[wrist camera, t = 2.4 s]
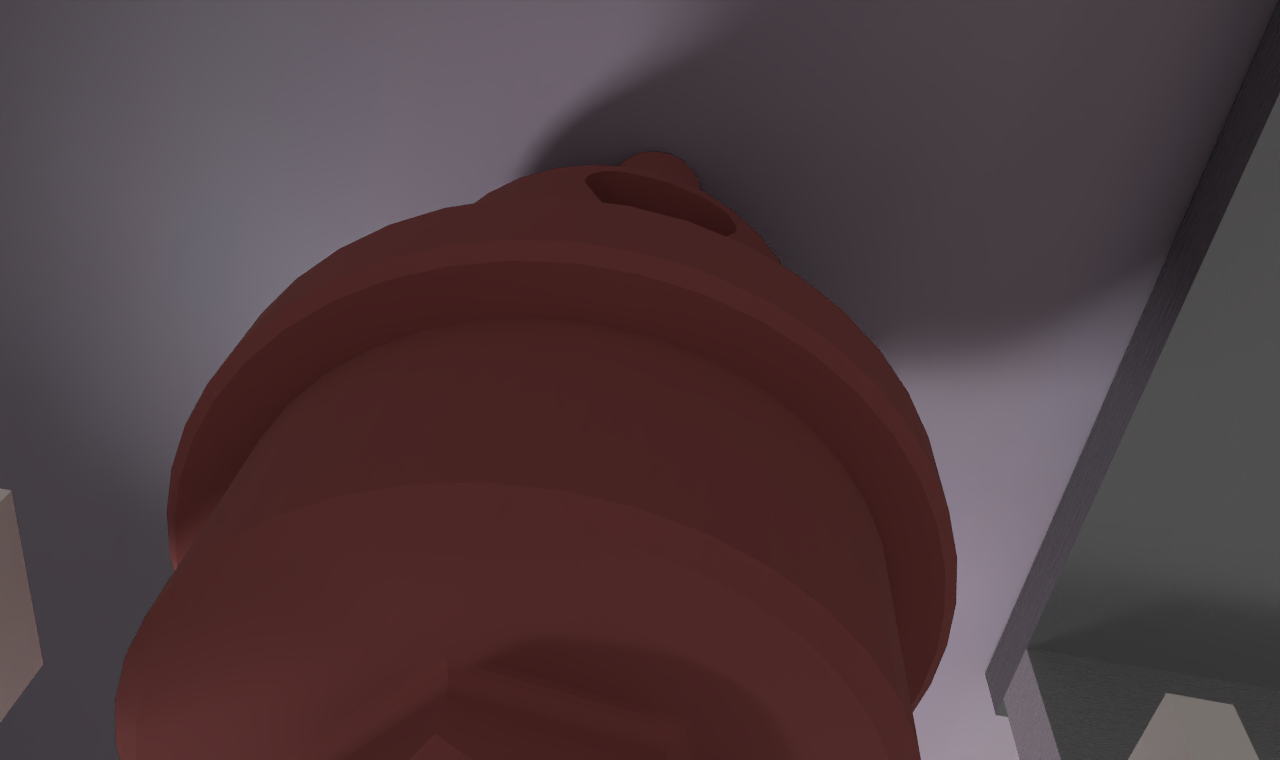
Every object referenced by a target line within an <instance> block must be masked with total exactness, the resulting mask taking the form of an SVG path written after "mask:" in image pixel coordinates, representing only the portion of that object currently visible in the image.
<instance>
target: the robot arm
mask: <svg viewBox="0 0 1280 760" xmlns="http://www.w3.org/2000/svg"><path fill="white" fill-rule="evenodd" d="M42 666H43V659H42V654H41V649H40V643H39V638H38V632H37V627H36V621H35V616H34V610H33V605H32V600H31V594H30V589H29V583H28V578H27V572H26V567H25V561H24V556H23V550H22V545H21V540H20V534H19V529H18V523H17V518H16V512H15V507H14V501H13V496H12V490H6V489H1V488H0V723H1V721H2V720H3V718H4V717H5V716H6V714H7V713H8V712H9V710H10V709H11V708H12V706H13V705H14V704H15V702H16V701H17V699H18V698H19V697H20V695H21V694H22V693H23V691H24V690H25V689H26V687H27V686H28V685H29V683H30V682H31V680H32V679H33V678H34V676H35V675H36V674H37V672H38V671H39V670H40V668H41V667H42ZM1128 760H1259V758H1258V756H1257V754H1256V752H1255V750H1254V748H1253V746H1252V743H1251V741H1250V739H1249V737H1248V735H1247V733H1246V731H1245V729H1244V726H1243V724H1242V722H1241V720H1240V718H1239V716H1238V714H1237V712H1236V709H1235V707H1234V705H1232V704H1226V703H1220V702H1215V701H1209V700H1203V699H1197V698H1192V697H1186V696H1180V695H1175V694H1169V693H1166V694H1165V696H1164V698H1163V699H1162V701H1161V703H1160V705H1159V706H1158V708H1157V710H1156V712H1155V713H1154V715H1153V717H1152V719H1151V720H1150V722H1149V724H1148V726H1147V727H1146V729H1145V731H1144V733H1143V734H1142V736H1141V738H1140V740H1139V741H1138V743H1137V745H1136V747H1135V748H1134V750H1133V752H1132V754H1131V755H1130V757H1129V759H1128Z"/></svg>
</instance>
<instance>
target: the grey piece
mask: <svg viewBox="0 0 1280 760" xmlns="http://www.w3.org/2000/svg"><path fill="white" fill-rule="evenodd" d="M985 675H986V679H987V683H988V687H989V690H990V694H991V698H992V702H993V706H994V710H995V713H996V715H1000V716H1006V717H1008V718H1009V722H1010V725H1011V729H1012V733H1013V736H1014V740H1015V744H1016V747H1017V751H1018V755H1019V759H1020V760H1128V759H1129V757H1130V755H1131V754H1132V752H1133V750H1134V748H1135V747H1136V745H1137V743H1138V741H1139V740H1140V738H1141V736H1142V734H1143V733H1144V731H1145V729H1146V727H1147V726H1148V724H1149V722H1150V720H1151V719H1152V717H1153V715H1154V713H1155V712H1156V710H1157V708H1158V706H1159V705H1160V703H1161V701H1162V699H1163V698H1164V696H1165V694H1166V693H1169V694H1175V695H1180V696H1186V697H1192V698H1197V699H1203V700H1209V701H1215V702H1220V703H1226V704H1232V705H1234V707H1235V709H1236V712H1237V714H1238V716H1239V718H1240V720H1241V722H1242V724H1243V726H1244V729H1245V731H1246V733H1247V735H1248V737H1249V739H1250V741H1251V743H1252V746H1253V748H1254V750H1255V752H1256V754H1257V756H1258V758H1259V760H1280V1H1279V3H1278V5H1277V7H1276V10H1275V12H1274V14H1273V17H1272V19H1271V21H1270V23H1269V26H1268V28H1267V30H1266V33H1265V35H1264V37H1263V39H1262V42H1261V44H1260V46H1259V49H1258V51H1257V53H1256V55H1255V58H1254V60H1253V62H1252V65H1251V67H1250V69H1249V71H1248V74H1247V76H1246V78H1245V81H1244V83H1243V85H1242V87H1241V90H1240V92H1239V94H1238V97H1237V99H1236V101H1235V103H1234V106H1233V108H1232V110H1231V113H1230V115H1229V117H1228V119H1227V122H1226V124H1225V126H1224V129H1223V131H1222V133H1221V136H1220V138H1219V140H1218V142H1217V145H1216V147H1215V149H1214V152H1213V154H1212V156H1211V158H1210V161H1209V163H1208V165H1207V168H1206V170H1205V172H1204V174H1203V177H1202V179H1201V181H1200V184H1199V186H1198V188H1197V190H1196V193H1195V195H1194V197H1193V200H1192V202H1191V204H1190V206H1189V209H1188V211H1187V213H1186V216H1185V218H1184V220H1183V222H1182V225H1181V227H1180V229H1179V232H1178V234H1177V236H1176V238H1175V241H1174V243H1173V245H1172V248H1171V250H1170V252H1169V254H1168V257H1167V259H1166V261H1165V264H1164V266H1163V268H1162V270H1161V273H1160V275H1159V277H1158V280H1157V282H1156V284H1155V286H1154V289H1153V291H1152V293H1151V296H1150V298H1149V300H1148V302H1147V305H1146V307H1145V309H1144V312H1143V314H1142V316H1141V319H1140V321H1139V323H1138V325H1137V328H1136V330H1135V332H1134V335H1133V337H1132V339H1131V341H1130V344H1129V346H1128V348H1127V351H1126V353H1125V355H1124V357H1123V360H1122V362H1121V364H1120V367H1119V369H1118V371H1117V373H1116V376H1115V378H1114V380H1113V383H1112V385H1111V387H1110V389H1109V392H1108V394H1107V396H1106V399H1105V401H1104V403H1103V405H1102V408H1101V410H1100V412H1099V415H1098V417H1097V419H1096V421H1095V424H1094V426H1093V428H1092V431H1091V433H1090V435H1089V437H1088V440H1087V442H1086V444H1085V447H1084V449H1083V451H1082V453H1081V456H1080V458H1079V460H1078V463H1077V465H1076V467H1075V469H1074V472H1073V474H1072V476H1071V479H1070V481H1069V483H1068V485H1067V488H1066V490H1065V492H1064V495H1063V497H1062V499H1061V502H1060V504H1059V506H1058V508H1057V511H1056V513H1055V515H1054V518H1053V520H1052V522H1051V524H1050V527H1049V529H1048V531H1047V534H1046V536H1045V538H1044V540H1043V543H1042V545H1041V547H1040V550H1039V552H1038V554H1037V556H1036V559H1035V561H1034V563H1033V566H1032V568H1031V570H1030V572H1029V575H1028V577H1027V579H1026V582H1025V584H1024V586H1023V588H1022V591H1021V593H1020V595H1019V598H1018V600H1017V602H1016V604H1015V607H1014V609H1013V611H1012V614H1011V616H1010V618H1009V620H1008V623H1007V625H1006V627H1005V630H1004V632H1003V634H1002V636H1001V639H1000V641H999V643H998V646H997V648H996V650H995V652H994V655H993V657H992V659H991V662H990V664H989V666H988V668H987V671H986V673H985Z"/></svg>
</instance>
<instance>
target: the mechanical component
mask: <svg viewBox="0 0 1280 760" xmlns="http://www.w3.org/2000/svg"><path fill="white" fill-rule="evenodd" d="M167 521H168V534H169V547H170V557H171V561H172V565H173V568H174V573H173V575H172V576H171V578H170V579H169V581H168V582H167V584H166V586H165V587H164V589H163V590H162V592H161V593H160V595H159V596H158V598H157V600H156V601H155V603H154V604H153V606H152V607H151V609H150V610H149V612H148V614H147V615H146V617H145V619H144V621H143V623H142V625H141V627H140V629H139V631H138V633H137V635H136V637H135V639H134V641H133V642H132V644H131V646H130V648H129V650H128V652H127V654H126V656H125V659H124V664H123V668H122V673H121V677H120V681H119V686H118V690H117V695H116V699H115V719H116V746H117V750H118V754H119V758H120V760H921V758H920V752H919V746H918V741H917V735H916V729H915V724H914V718H913V711H914V710H915V708H916V707H917V705H918V703H919V702H920V700H921V699H922V697H923V696H924V694H925V692H926V691H927V689H928V688H929V686H930V685H931V682H932V680H933V678H934V675H935V673H936V670H937V668H938V666H939V663H940V661H941V658H942V656H943V654H944V651H945V649H946V646H947V643H948V638H949V634H950V629H951V624H952V620H953V615H954V610H955V606H956V582H957V555H956V549H955V544H954V538H953V532H952V526H951V520H950V514H949V510H948V506H947V503H946V499H945V495H944V492H943V488H942V485H941V481H940V477H939V474H938V470H937V467H936V463H935V459H934V456H933V452H932V448H931V445H930V441H929V438H928V435H927V433H926V431H925V428H924V426H923V424H922V422H921V420H920V417H919V415H918V413H917V411H916V409H915V406H914V404H913V402H912V400H911V397H910V395H909V393H908V391H907V390H906V388H905V387H904V385H903V384H902V383H901V381H900V380H899V378H898V377H897V375H896V374H895V372H894V371H893V369H892V368H891V366H890V365H889V363H888V362H887V360H886V359H885V357H884V356H883V354H882V353H881V351H880V350H879V349H878V348H877V347H876V346H875V345H874V343H873V342H872V341H871V340H870V339H869V338H868V337H867V336H866V335H865V334H864V333H863V332H862V331H861V330H860V329H859V327H858V326H857V325H856V324H855V323H854V322H853V321H852V320H851V319H850V318H849V317H848V316H847V315H846V314H845V312H844V311H843V310H841V309H840V308H839V307H838V306H836V305H835V304H834V303H833V302H831V301H830V300H829V299H828V298H826V297H825V296H824V295H822V294H821V293H820V292H819V291H817V290H816V289H815V288H814V287H812V286H811V285H810V284H809V283H807V282H806V281H805V280H803V279H802V278H801V277H800V276H798V275H797V274H795V273H794V272H792V271H790V270H788V269H787V268H785V267H783V266H782V264H781V263H780V261H779V260H778V259H777V257H776V256H775V255H774V253H773V252H772V251H771V249H770V248H769V247H768V245H767V244H766V243H765V241H764V240H763V239H762V237H761V236H760V235H759V234H758V233H757V232H756V231H755V230H754V229H753V228H752V227H751V226H749V225H748V224H747V223H746V222H745V221H744V220H743V219H742V218H741V217H740V216H739V215H738V214H736V213H735V212H734V211H733V210H731V209H730V208H728V207H727V206H725V205H724V204H722V203H720V202H719V201H717V200H716V199H714V198H713V197H711V196H710V195H708V194H707V193H705V192H703V191H701V189H700V184H699V181H698V179H697V177H696V175H695V174H694V172H693V170H692V169H691V168H690V167H689V166H688V165H687V164H686V163H685V162H684V161H683V160H681V159H679V158H677V157H675V156H673V155H671V154H668V153H663V152H658V151H652V152H641V153H639V154H637V155H634V156H632V157H629V158H628V159H626V160H625V161H624V162H623V163H622V164H620V165H619V166H607V165H583V166H572V167H561V168H554V169H551V170H547V171H543V172H540V173H536V174H533V175H529V176H525V177H522V178H519V179H517V180H515V181H513V182H511V183H509V184H507V185H504V186H502V187H500V188H498V189H496V190H494V191H492V192H490V193H488V194H487V195H485V196H484V197H483V198H481V199H480V200H478V201H477V202H476V203H474V204H469V205H462V206H455V207H449V208H443V209H440V210H437V211H434V212H430V213H427V214H424V215H420V216H417V217H414V218H411V219H407V220H404V221H401V222H398V223H394V224H391V225H388V226H386V227H384V228H382V229H380V230H378V231H376V232H374V233H372V234H369V235H367V236H365V237H363V238H361V239H359V240H357V241H355V242H353V243H351V244H349V245H347V246H344V247H342V248H340V249H339V250H337V251H336V252H334V253H333V254H331V255H330V256H329V257H327V258H326V259H324V260H323V261H321V262H320V263H319V264H317V265H316V266H314V267H313V268H311V269H310V270H309V271H307V272H306V273H304V274H303V275H301V276H300V277H298V278H297V279H296V280H295V281H294V282H293V283H292V284H291V285H290V286H289V287H288V288H287V289H286V290H285V291H284V292H283V293H282V294H281V295H280V296H279V297H278V298H277V299H276V300H275V301H274V302H273V303H272V304H271V305H270V306H269V307H268V308H267V309H266V310H265V311H264V312H263V313H262V314H261V315H260V316H259V318H258V319H257V320H256V321H255V323H254V324H253V325H252V327H251V328H250V329H249V331H248V332H247V333H246V334H245V336H244V337H243V338H242V340H241V341H240V342H239V344H238V345H237V346H236V348H235V349H234V350H233V351H232V353H231V354H230V355H229V357H228V358H227V359H226V361H225V362H224V363H223V364H222V366H221V367H220V368H219V370H218V371H217V372H216V374H215V375H214V376H213V377H212V379H211V380H210V381H209V383H208V384H207V386H206V388H205V390H204V391H203V393H202V395H201V397H200V399H199V401H198V402H197V404H196V406H195V408H194V410H193V412H192V413H191V415H190V417H189V419H188V421H187V423H186V425H185V427H184V430H183V434H182V437H181V440H180V443H179V446H178V450H177V453H176V456H175V459H174V462H173V466H172V470H171V479H170V488H169V497H168V506H167Z"/></svg>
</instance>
